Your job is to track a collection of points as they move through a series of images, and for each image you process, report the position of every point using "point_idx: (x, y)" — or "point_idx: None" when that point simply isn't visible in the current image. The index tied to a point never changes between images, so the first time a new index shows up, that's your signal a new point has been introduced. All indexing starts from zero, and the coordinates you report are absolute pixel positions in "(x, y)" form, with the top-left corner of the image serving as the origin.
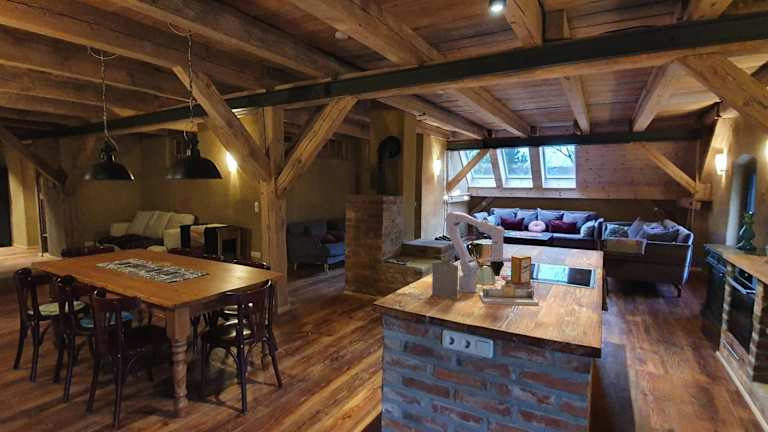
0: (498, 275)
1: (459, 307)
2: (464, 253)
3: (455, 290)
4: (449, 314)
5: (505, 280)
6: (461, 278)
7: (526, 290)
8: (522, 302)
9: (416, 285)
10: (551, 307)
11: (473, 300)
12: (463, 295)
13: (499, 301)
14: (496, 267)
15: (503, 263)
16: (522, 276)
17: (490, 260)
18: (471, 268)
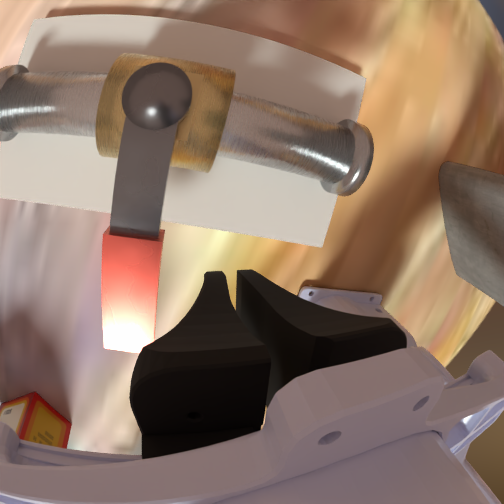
0: (221, 273)
1: (455, 77)
2: (476, 475)
3: (486, 171)
4: (482, 37)
5: (174, 141)
6: (411, 344)
7: (28, 86)
8: (123, 16)
9: (447, 360)
10: (10, 6)
11: (384, 146)
12: (391, 240)
13: (274, 42)
14: (306, 315)
15: (161, 367)
16: (15, 423)
17: (476, 385)
18: (437, 370)
